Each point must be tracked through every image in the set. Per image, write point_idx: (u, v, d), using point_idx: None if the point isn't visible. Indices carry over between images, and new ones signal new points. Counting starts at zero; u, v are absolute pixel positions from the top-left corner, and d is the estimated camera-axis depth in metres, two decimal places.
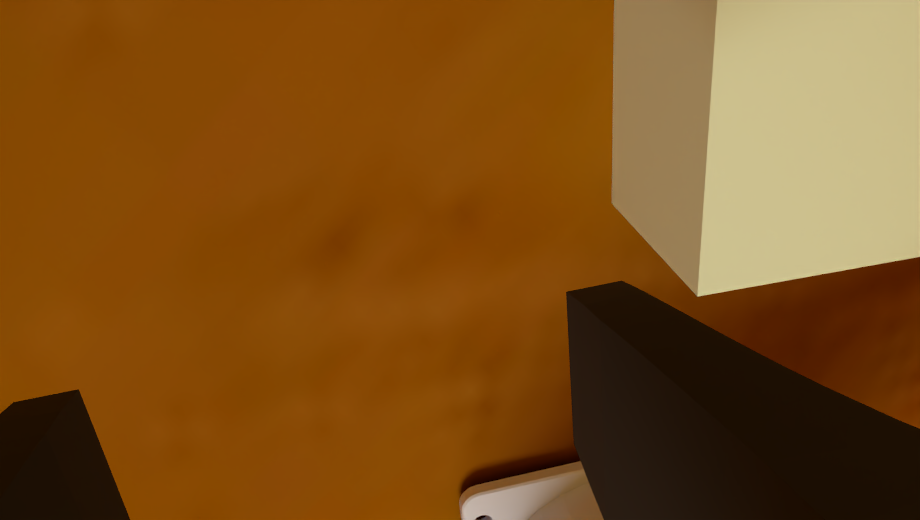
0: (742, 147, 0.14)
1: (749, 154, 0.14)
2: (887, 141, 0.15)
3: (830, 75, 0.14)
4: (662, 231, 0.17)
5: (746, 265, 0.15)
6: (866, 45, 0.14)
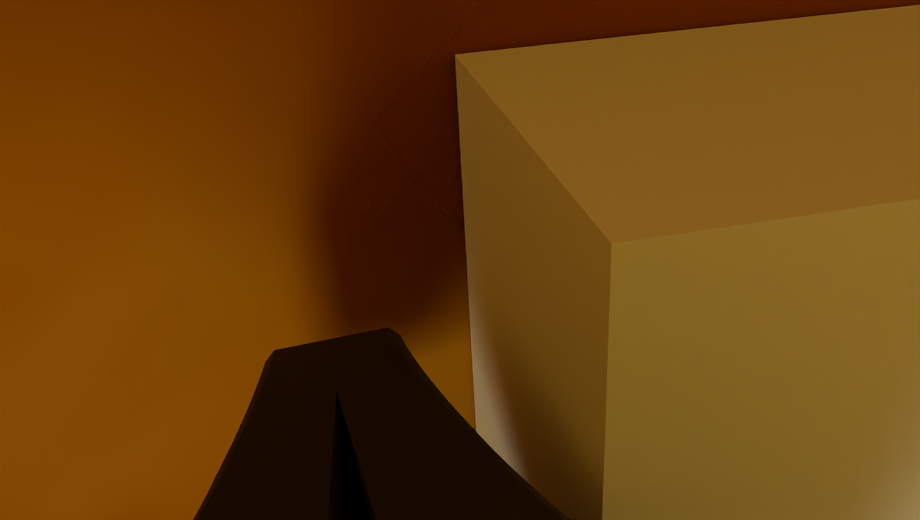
0: None
1: None
2: None
3: (875, 468, 0.06)
4: None
5: None
6: None
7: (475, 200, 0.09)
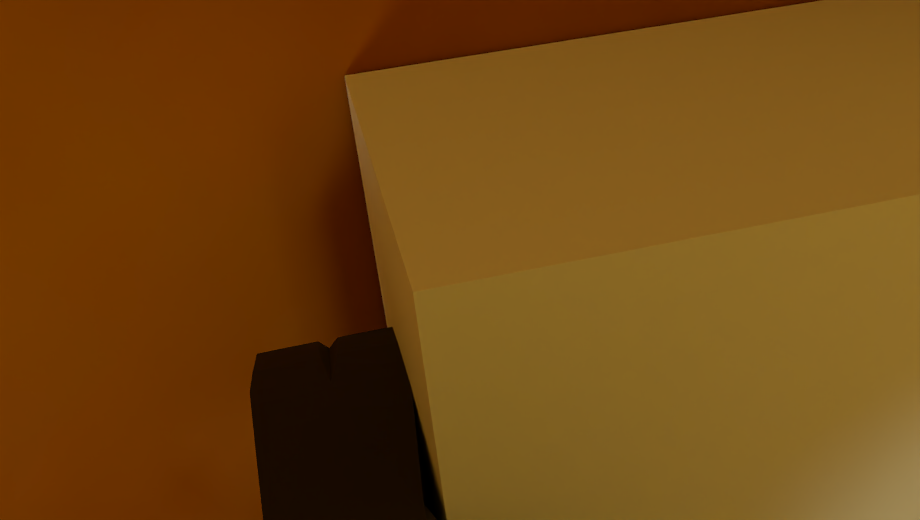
0: None
1: None
2: None
3: (745, 497, 0.06)
4: None
5: None
6: (827, 434, 0.06)
7: (372, 223, 0.09)
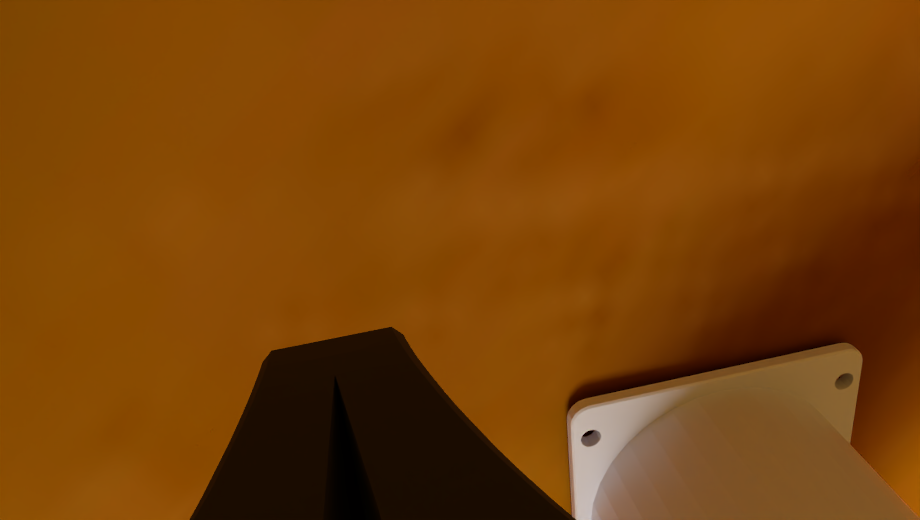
0: None
1: None
2: None
3: None
4: None
5: None
6: None
7: None
